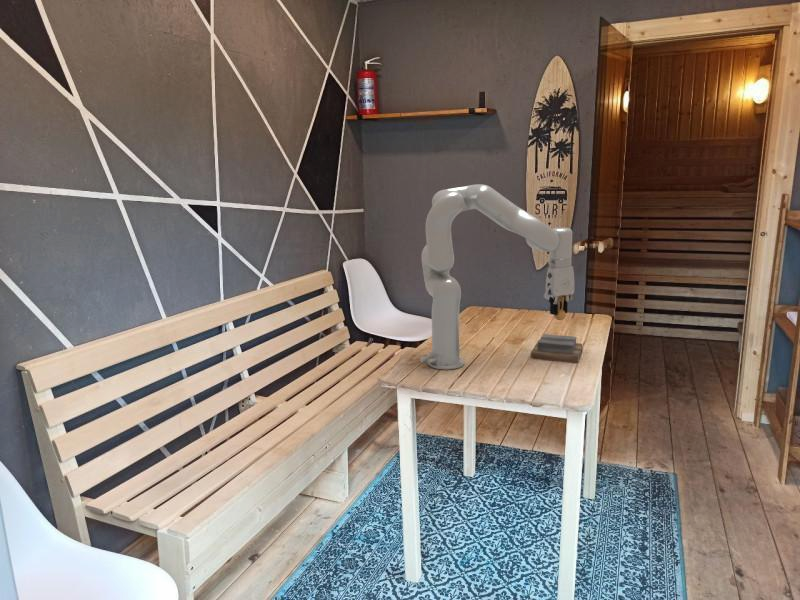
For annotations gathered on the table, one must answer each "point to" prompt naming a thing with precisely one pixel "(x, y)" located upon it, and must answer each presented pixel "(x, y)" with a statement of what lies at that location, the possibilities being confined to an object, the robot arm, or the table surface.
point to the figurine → (561, 312)
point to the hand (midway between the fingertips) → (558, 313)
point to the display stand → (557, 348)
